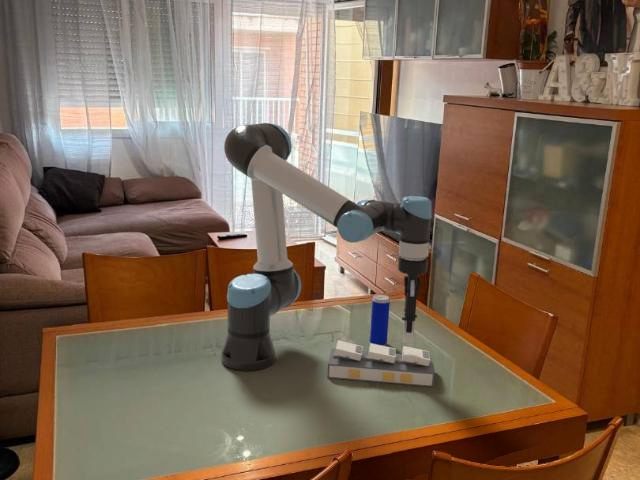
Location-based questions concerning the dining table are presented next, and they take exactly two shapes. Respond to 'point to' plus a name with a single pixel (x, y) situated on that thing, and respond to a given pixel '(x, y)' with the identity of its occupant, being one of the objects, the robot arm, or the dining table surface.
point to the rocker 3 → (415, 356)
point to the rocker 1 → (348, 350)
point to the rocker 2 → (382, 353)
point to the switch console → (380, 370)
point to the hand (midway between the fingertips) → (407, 341)
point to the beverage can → (379, 320)
